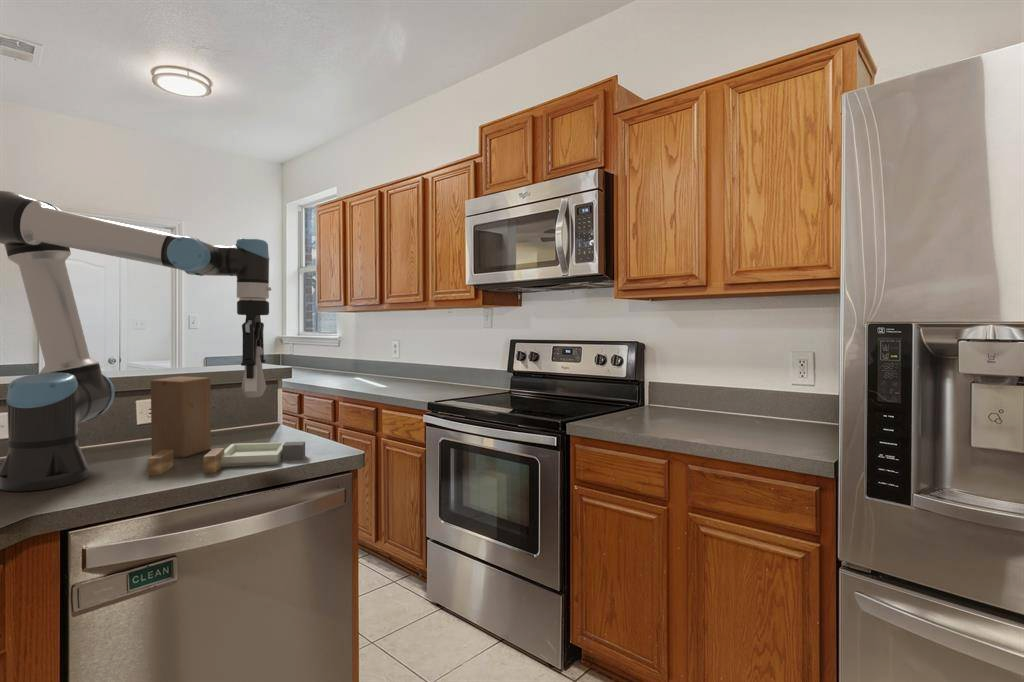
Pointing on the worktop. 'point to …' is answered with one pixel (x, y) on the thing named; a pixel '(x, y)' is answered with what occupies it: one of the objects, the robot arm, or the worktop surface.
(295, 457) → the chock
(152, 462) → the wooden blocks
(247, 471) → the worktop surface
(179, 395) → the wooden block
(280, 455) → the tray
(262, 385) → the salt shaker
